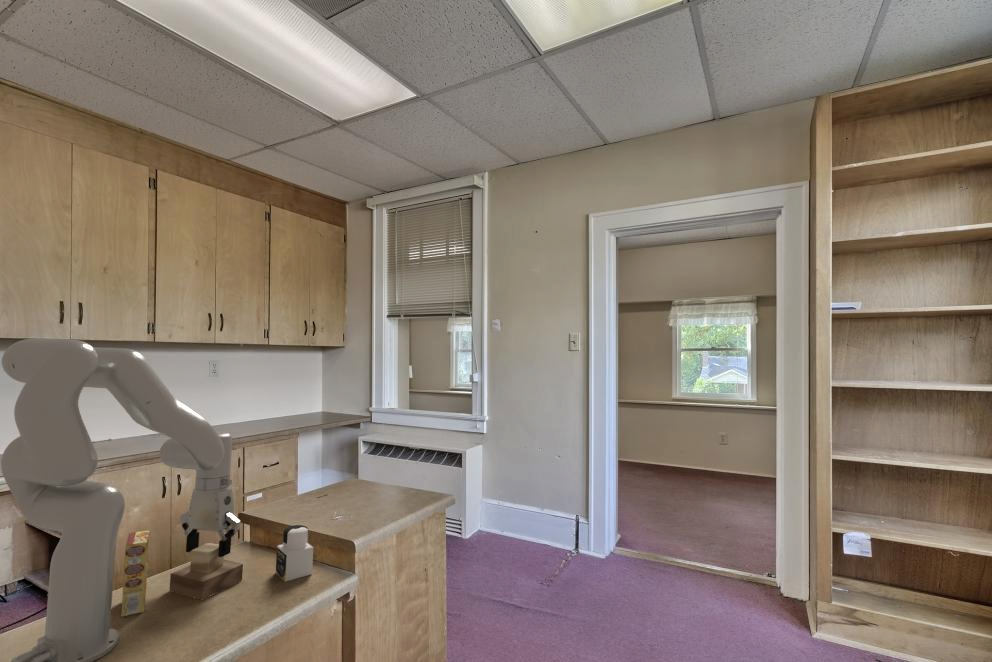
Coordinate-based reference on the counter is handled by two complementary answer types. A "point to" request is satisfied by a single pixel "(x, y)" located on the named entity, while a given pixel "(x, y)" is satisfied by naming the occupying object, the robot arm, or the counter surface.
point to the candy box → (135, 573)
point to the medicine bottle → (294, 554)
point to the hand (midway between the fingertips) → (208, 552)
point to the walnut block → (205, 580)
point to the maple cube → (205, 558)
